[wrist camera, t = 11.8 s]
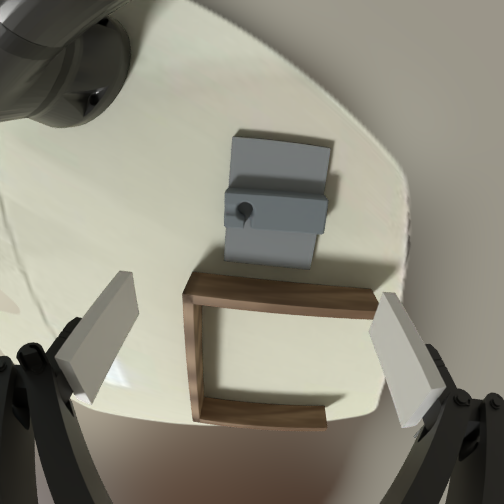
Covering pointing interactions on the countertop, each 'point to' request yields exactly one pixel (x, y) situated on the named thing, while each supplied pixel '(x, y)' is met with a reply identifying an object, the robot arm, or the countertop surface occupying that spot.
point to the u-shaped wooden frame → (272, 301)
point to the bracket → (277, 210)
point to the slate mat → (280, 179)
